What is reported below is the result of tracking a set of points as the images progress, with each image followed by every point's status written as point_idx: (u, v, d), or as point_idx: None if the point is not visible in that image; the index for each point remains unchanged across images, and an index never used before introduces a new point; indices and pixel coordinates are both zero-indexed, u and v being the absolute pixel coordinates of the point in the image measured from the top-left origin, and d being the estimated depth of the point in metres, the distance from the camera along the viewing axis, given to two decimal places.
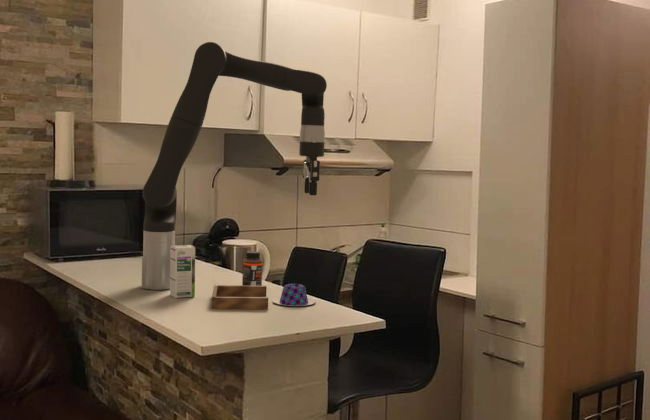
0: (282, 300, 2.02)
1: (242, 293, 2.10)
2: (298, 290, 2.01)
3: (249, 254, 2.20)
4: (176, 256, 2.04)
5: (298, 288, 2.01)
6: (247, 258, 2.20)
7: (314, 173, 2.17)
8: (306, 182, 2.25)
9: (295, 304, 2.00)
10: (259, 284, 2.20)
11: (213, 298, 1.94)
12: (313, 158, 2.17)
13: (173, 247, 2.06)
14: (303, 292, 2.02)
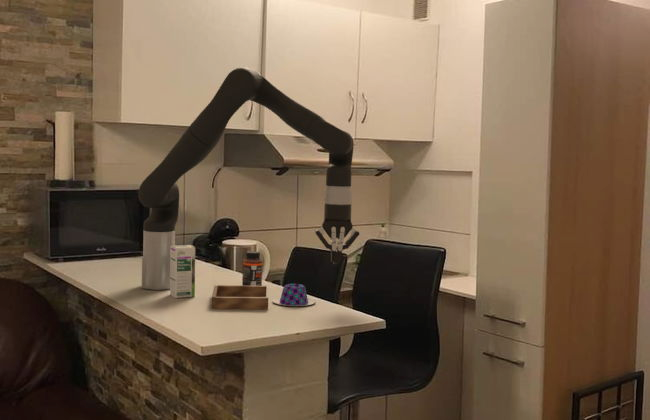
0: (282, 300, 2.02)
1: (242, 293, 2.10)
2: (298, 290, 2.01)
3: (249, 254, 2.20)
4: (176, 256, 2.04)
5: (298, 288, 2.01)
6: (247, 258, 2.20)
7: None
8: None
9: (295, 304, 2.00)
10: (259, 284, 2.20)
11: (213, 298, 1.94)
12: (350, 221, 2.04)
13: (173, 247, 2.06)
14: (303, 292, 2.02)
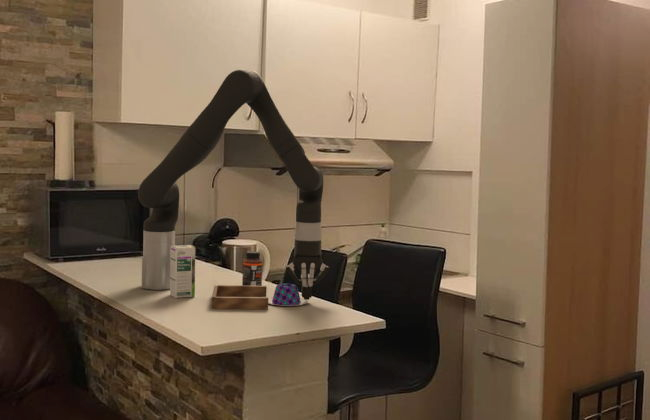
0: (274, 300, 2.02)
1: (242, 293, 2.10)
2: (290, 290, 2.01)
3: (249, 254, 2.20)
4: (176, 256, 2.04)
5: (290, 288, 2.01)
6: (247, 258, 2.20)
7: None
8: None
9: (287, 304, 2.00)
10: (259, 284, 2.20)
11: (213, 298, 1.94)
12: None
13: (173, 247, 2.06)
14: (296, 292, 2.02)
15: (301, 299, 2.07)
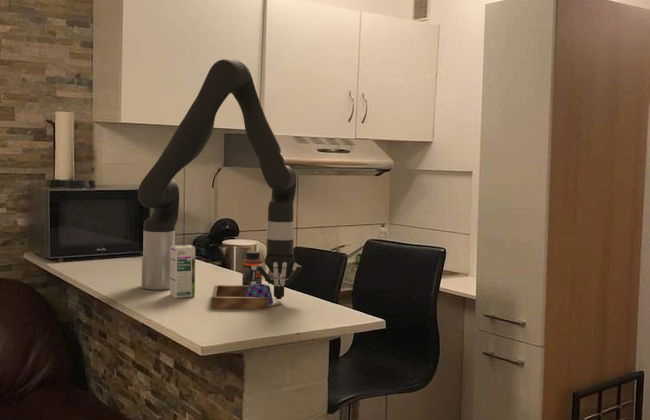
0: None
1: (242, 293, 2.10)
2: (263, 290, 1.99)
3: (249, 254, 2.20)
4: (176, 256, 2.04)
5: (263, 288, 2.00)
6: (247, 258, 2.20)
7: None
8: None
9: None
10: None
11: (213, 298, 1.94)
12: None
13: (173, 247, 2.06)
14: (268, 292, 2.01)
15: (274, 299, 2.06)
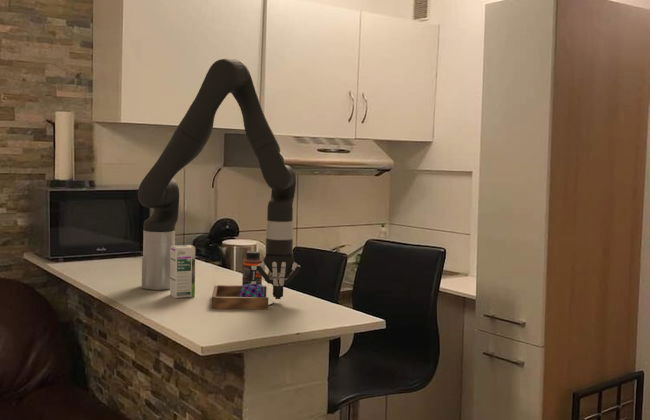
0: None
1: None
2: (256, 290, 1.99)
3: (249, 254, 2.20)
4: (176, 256, 2.04)
5: (256, 288, 1.99)
6: (247, 258, 2.20)
7: None
8: None
9: None
10: None
11: (213, 298, 1.94)
12: (292, 256, 2.03)
13: (173, 247, 2.06)
14: (261, 292, 2.00)
15: None
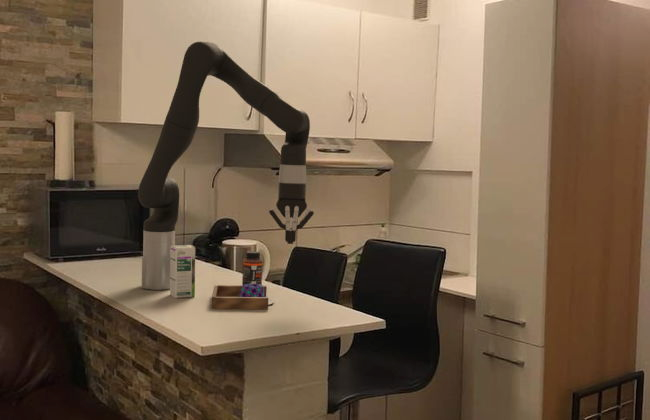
0: None
1: None
2: (256, 290, 1.99)
3: (249, 254, 2.20)
4: (176, 256, 2.04)
5: (256, 288, 1.99)
6: (247, 258, 2.20)
7: None
8: None
9: None
10: None
11: (213, 298, 1.94)
12: None
13: (173, 247, 2.06)
14: (262, 292, 2.00)
15: None
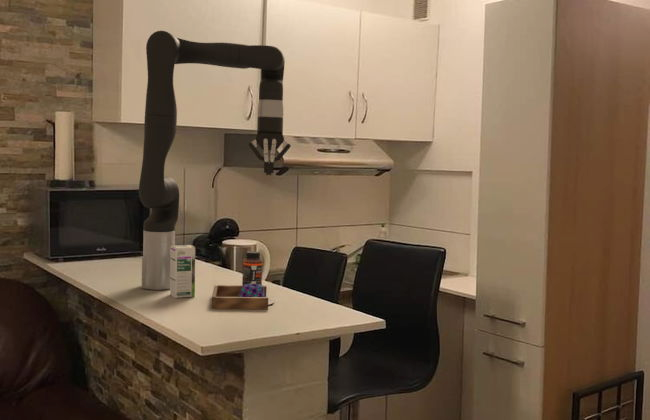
0: None
1: None
2: (257, 290, 1.99)
3: (249, 254, 2.20)
4: (176, 256, 2.04)
5: (257, 288, 2.00)
6: (247, 258, 2.20)
7: None
8: None
9: None
10: None
11: (213, 298, 1.94)
12: (282, 134, 2.15)
13: (173, 247, 2.06)
14: (262, 292, 2.00)
15: None
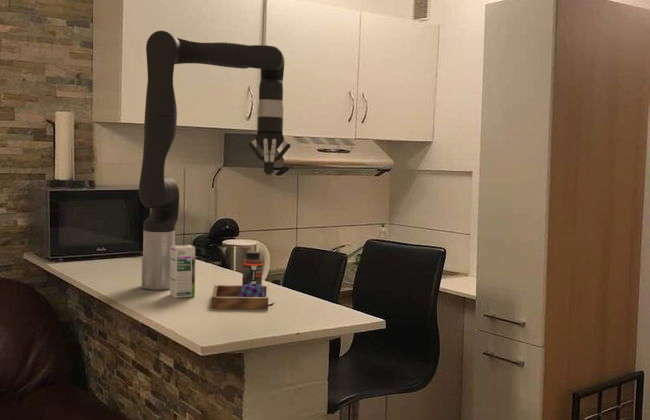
0: None
1: None
2: (257, 290, 1.99)
3: (249, 254, 2.20)
4: (176, 256, 2.04)
5: (257, 288, 2.00)
6: (247, 258, 2.20)
7: None
8: None
9: None
10: None
11: (213, 298, 1.94)
12: (282, 134, 2.15)
13: (173, 247, 2.06)
14: (262, 291, 2.01)
15: None
